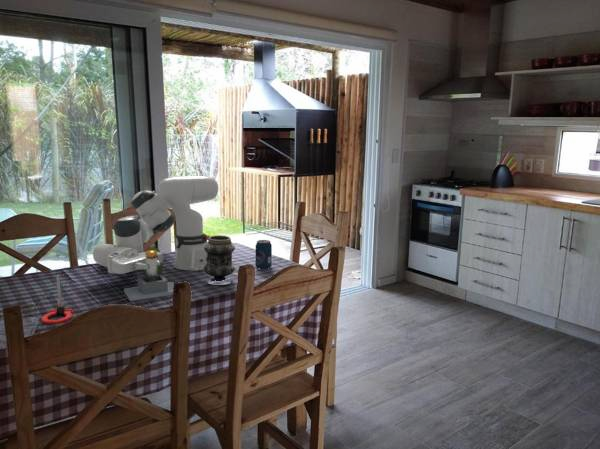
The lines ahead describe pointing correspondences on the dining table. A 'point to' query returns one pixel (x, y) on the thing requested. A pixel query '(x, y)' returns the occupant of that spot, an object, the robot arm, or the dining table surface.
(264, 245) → the soda can
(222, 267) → the ornate stone vase
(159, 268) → the avocado
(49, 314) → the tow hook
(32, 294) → the dining table surface
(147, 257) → the white gold-topped cylinder
